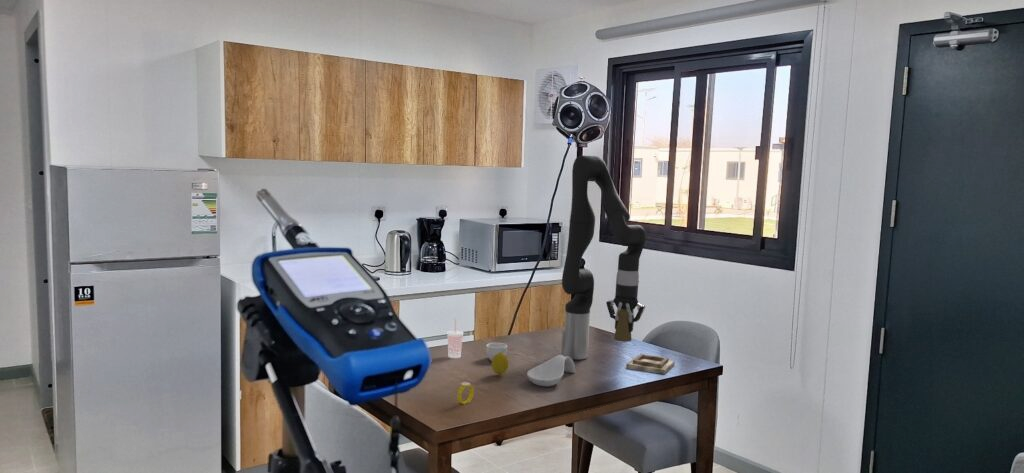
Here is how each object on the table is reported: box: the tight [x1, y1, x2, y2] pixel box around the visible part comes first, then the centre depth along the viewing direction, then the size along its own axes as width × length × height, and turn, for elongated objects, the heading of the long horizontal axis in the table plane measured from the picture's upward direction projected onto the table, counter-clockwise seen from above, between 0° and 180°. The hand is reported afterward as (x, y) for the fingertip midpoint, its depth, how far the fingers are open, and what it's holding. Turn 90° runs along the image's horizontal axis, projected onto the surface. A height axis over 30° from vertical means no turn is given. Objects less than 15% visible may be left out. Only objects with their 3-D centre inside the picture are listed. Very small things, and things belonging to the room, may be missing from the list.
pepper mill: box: [613, 309, 633, 343], centre depth 241 cm, size 6×6×11 cm
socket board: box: [625, 353, 675, 375], centre depth 254 cm, size 14×14×3 cm
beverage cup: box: [446, 318, 464, 359], centre depth 257 cm, size 6×6×14 cm
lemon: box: [491, 352, 509, 376], centre depth 236 cm, size 6×6×8 cm
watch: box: [456, 381, 475, 405], centre depth 207 cm, size 6×3×6 cm, turn 143°
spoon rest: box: [526, 354, 577, 388], centre depth 233 cm, size 24×12×7 cm, turn 149°
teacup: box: [485, 342, 508, 361], centre depth 256 cm, size 10×8×5 cm
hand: (623, 331), depth 242 cm, fingers closed on pepper mill, 3 cm apart
